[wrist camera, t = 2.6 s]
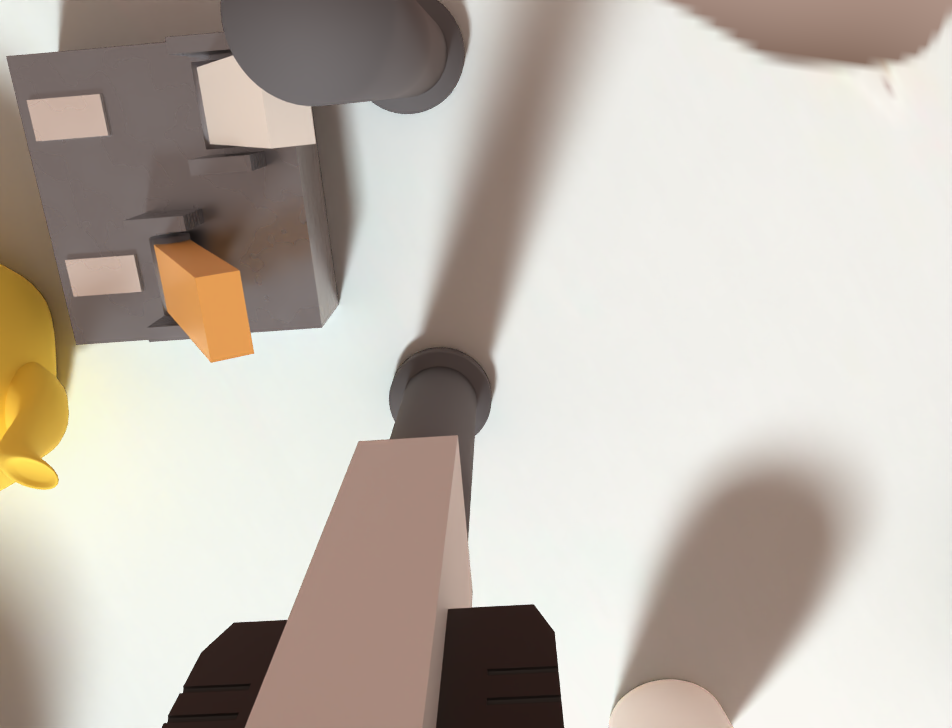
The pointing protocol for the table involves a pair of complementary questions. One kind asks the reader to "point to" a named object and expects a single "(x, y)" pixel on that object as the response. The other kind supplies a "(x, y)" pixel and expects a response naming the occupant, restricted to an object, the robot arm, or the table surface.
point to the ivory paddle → (246, 110)
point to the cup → (668, 707)
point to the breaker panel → (165, 191)
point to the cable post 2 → (442, 403)
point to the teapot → (28, 386)
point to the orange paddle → (202, 296)
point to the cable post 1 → (347, 50)
